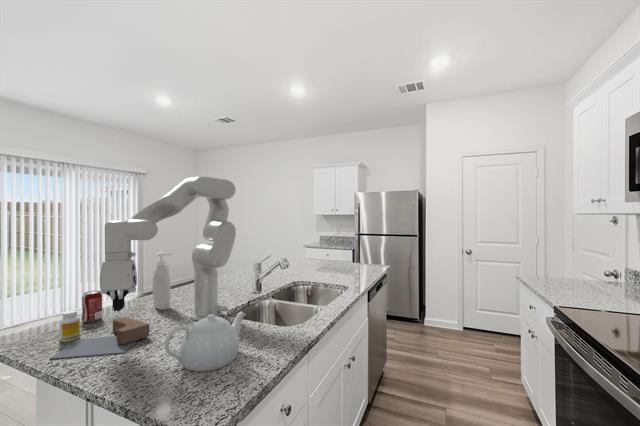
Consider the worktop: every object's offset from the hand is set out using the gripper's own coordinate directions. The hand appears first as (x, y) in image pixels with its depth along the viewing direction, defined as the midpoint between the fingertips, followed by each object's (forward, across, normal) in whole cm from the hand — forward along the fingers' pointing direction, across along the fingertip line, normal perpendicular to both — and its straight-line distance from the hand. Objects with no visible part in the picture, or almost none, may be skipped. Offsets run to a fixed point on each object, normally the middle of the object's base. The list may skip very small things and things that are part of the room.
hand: (118, 309), depth 100 cm
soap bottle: (+12, -1, -40) cm, 42 cm away
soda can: (+12, +23, -28) cm, 38 cm away
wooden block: (+9, -5, -1) cm, 11 cm away
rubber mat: (+12, +6, 0) cm, 13 cm away
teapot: (+12, -33, +16) cm, 38 cm away
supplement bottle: (+12, +20, -9) cm, 25 cm away
